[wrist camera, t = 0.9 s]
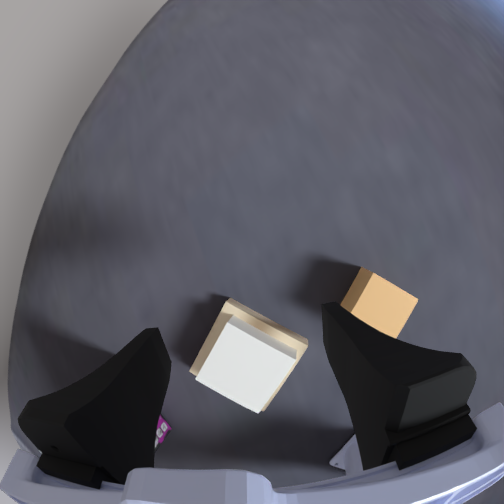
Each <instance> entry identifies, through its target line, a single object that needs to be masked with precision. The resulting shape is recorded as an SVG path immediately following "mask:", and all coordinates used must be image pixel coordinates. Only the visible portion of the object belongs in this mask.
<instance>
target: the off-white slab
mask: <svg viewBox="0 0 504 504" xmlns="http://www.w3.org/2000/svg"><path fill="white" fill-rule="evenodd" d="M296 355H297V350H296V349H294V348H292V347H290V346H288V345H286V344H285V343H283V342H281V341H279V340H277V339H275V338H273V337H272V336H270V335H268V334H266V333H264V332H263V331H261V330H259V329H257V328H255V327H254V326H252V325H250V324H248V323H246V322H245V321H243V320H241V319H239V318H238V317H236V316H234V315H233V316H232V317H231V318H230V320H229V321H228V322H227V324H226V325H225V327H224V329H223V331H222V333H221V334H220V336H219V338H218V340H217V342H216V343H215V345H214V347H213V349H212V350H211V352H210V354H209V356H208V358H207V359H206V361H205V363H204V365H203V366H202V368H201V370H200V372H199V373H198V375H197V377H196V380H197V381H199V382H201V383H202V384H204V385H206V386H207V387H209V388H211V389H213V390H214V391H216V392H218V393H220V394H222V395H223V396H225V397H227V398H229V399H231V400H233V401H235V402H236V403H238V404H240V405H242V406H244V407H246V408H248V409H250V410H252V411H254V412H256V413H259V412H260V411H261V409H262V408H263V407H264V405H265V404H266V403H267V401H268V400H269V399H270V397H271V396H272V394H273V393H274V392H275V390H276V389H277V387H278V386H279V385H280V383H281V382H282V380H283V379H284V377H285V376H286V375H287V373H288V372H289V370H290V369H291V367H292V366H293V364H294V363H295V361H296Z"/></svg>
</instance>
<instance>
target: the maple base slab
mask: <svg viewBox="0 0 504 504" xmlns="http://www.w3.org/2000/svg"><path fill="white" fill-rule="evenodd" d="M233 315H234V316H236V317H238V318H239V319H241V320H243V321H245V322H246V323H248V324H250V325H252V326H254V327H255V328H257V329H259V330H261V331H263V332H264V333H266V334H268V335H270V336H272V337H273V338H275V339H277V340H279V341H281V342H283V343H285V344H286V345H288V346H290V347H292V348H294V349H296V350H297V355H296V361H295V363H294V364H293V366H292V367H291V369H290V370H289V372H288V373H287V375H286V376H285V377H284V379H283V380H282V382H281V383H280V385H279V386H278V387H277V389H276V390H275V392H274V393H273V394H272V396H271V397H270V399H269V400H268V401H267V403H266V404H265V405H264V407H263V408H262V409H261V411H264V410H265V409H266V408H267V406H268V405H269V403H270V402H271V401H272V399H273V398H274V396H275V395H276V394H277V392H278V391H279V389H280V388H281V386H282V385H283V383H284V382H285V381H286V379H287V378H288V376H289V375H290V373H291V372H292V370H293V369H294V367H295V366H296V364H297V363H298V361H299V359H300V358H301V356H302V355H303V353H304V352H305V350H306V349H307V347H308V339H306V338H304V337H302V336H300V335H298V334H296V333H294V332H292V331H291V330H289V329H287V328H285V327H283V326H281V325H279V324H277V323H276V322H274V321H272V320H270V319H268V318H266V317H264V316H263V315H261V314H259V313H257V312H255V311H253V310H252V309H250V308H248V307H246V306H244V305H243V304H241V303H239V302H237V301H235V300H234V299H232V298H229V299H228V300H227V301H226V302H225V304H224V306H223V308H222V310H221V312H220V314H219V316H218V317H217V319H216V321H215V323H214V325H213V327H212V329H211V331H210V333H209V335H208V337H207V338H206V340H205V342H204V344H203V346H202V348H201V350H200V352H199V354H198V356H197V358H196V359H195V361H194V363H193V365H192V367H191V369H190V371H189V372H191V373H193V374H194V375H196V376H197V375H198V373H199V372H200V370H201V368H202V366H203V365H204V363H205V361H206V359H207V358H208V356H209V354H210V352H211V350H212V349H213V347H214V345H215V343H216V342H217V340H218V338H219V336H220V334H221V333H222V331H223V329H224V327H225V325H226V324H227V322H228V321H229V320H230V318H231V317H232V316H233Z"/></svg>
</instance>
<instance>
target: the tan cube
mask: <svg viewBox="0 0 504 504" xmlns="http://www.w3.org/2000/svg"><path fill="white" fill-rule="evenodd" d="M417 301H418V299H417V298H415V297H414V296H412V295H410V294H409V293H407V292H405V291H404V290H402V289H400V288H398V287H397V286H395V285H393V284H392V283H390V282H388V281H387V280H385V279H383V278H381V277H380V276H378V275H376V274H375V273H373V272H371V271H369V270H367V269H365V268H363V267H361V269H360V271H359V272H358V274H357V276H356V278H355V280H354V281H353V283H352V285H351V287H350V289H349V290H348V292H347V294H346V296H345V297H344V299H343V301H342V303H341V304H340V305H341V306H342V307H343V308H345V309H346V310H347V311H349V312H350V313H352V314H353V315H354V316H356V317H357V318H359V319H360V320H362V321H363V322H365V323H367V324H368V325H370V326H372V327H373V328H375V329H377V330H379V331H380V332H382V333H384V334H386V335H389V336H391V337H393V338H396V337H397V336H398V334H399V333H400V331H401V329H402V328H403V326H404V324H405V323H406V321H407V319H408V317H409V316H410V314H411V312H412V310H413V309H414V307H415V305H416V303H417Z"/></svg>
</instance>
